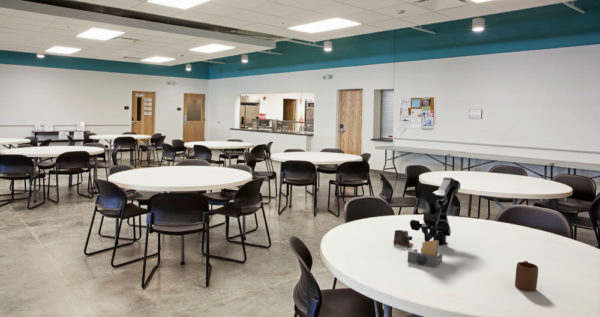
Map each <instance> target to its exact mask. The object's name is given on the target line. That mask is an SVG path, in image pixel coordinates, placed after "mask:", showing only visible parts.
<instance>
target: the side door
mask: <svg viewBox="0 0 600 317" xmlns="http://www.w3.org/2000/svg"><path fill="white" fill-rule="evenodd" d="M438 242H439V240H434V241H433V240H430V241H427V242H425V241H422V243H421V244H422V245H421V250H420V253H424V254H428V255H433V256H437V257H438V256H439V245H438Z"/></svg>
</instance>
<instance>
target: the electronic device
mask: <svg viewBox="0 0 600 317" xmlns="http://www.w3.org/2000/svg"><path fill="white" fill-rule="evenodd" d="M412 240H413V236H412V235H409V231H408V230H401V229H396V230H394V237H393V244H396V245H399V246H403V247H406V248H411V247H413V246H414V243H412V242H410V241H412Z"/></svg>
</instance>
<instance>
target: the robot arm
mask: <svg viewBox="0 0 600 317" xmlns="http://www.w3.org/2000/svg"><path fill="white" fill-rule="evenodd" d="M460 189H461V182H460V181H459V180H456V179H455V178H453V177H447V176H446V177H443V178H442V182H441V184H440V186H439V187H438V189H437V190H435V191H433V192H431V193H430V194H428V195H427V196H426V197H425V198H424V200H425V203H426V207H427V209H428V211H427V212H424V213H423V217H422V220H423V222H422V223H420V220H417V219H416V220H415V219H411V220H410V222H409V226H410V228H411V230H413V231H420V230H421V232H422V234H423V235H424V237H423V238H424V242H427V241H434V240H439V242H438V246H444V245H449V242H447V237H451V232H452V230H451V227H450V223H449V219H448V215H449V212H450V207H451V206H452V205H451V204H452V201H453V198H454V196H456V195H457V194H458V193H459V191H460ZM432 239H433V240H432Z"/></svg>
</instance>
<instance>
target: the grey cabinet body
mask: <svg viewBox="0 0 600 317" xmlns="http://www.w3.org/2000/svg"><path fill="white" fill-rule="evenodd" d="M442 261H443V254H439V253H438V257H437V256H433V255H428V254H424V253H421V252H418V249H416V248H415V249H413V250H407V262H408V263H412V264H417V265H419V266H420V265H421V266H426V267H430V268H435V269H436V268H438V266H440V264H441V263H442Z"/></svg>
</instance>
